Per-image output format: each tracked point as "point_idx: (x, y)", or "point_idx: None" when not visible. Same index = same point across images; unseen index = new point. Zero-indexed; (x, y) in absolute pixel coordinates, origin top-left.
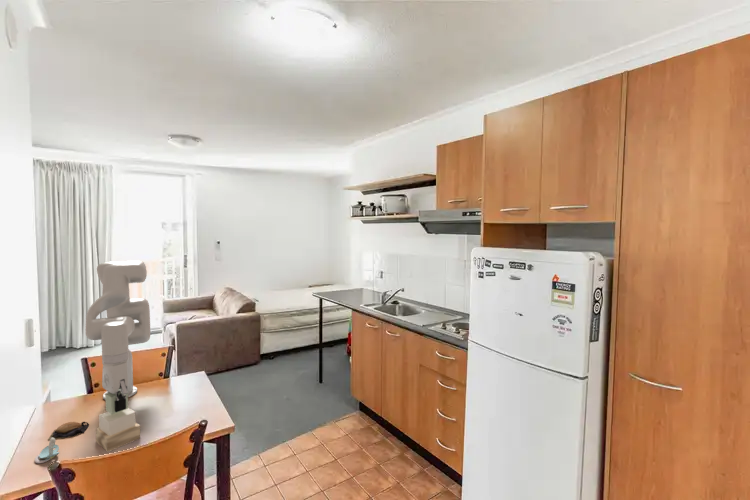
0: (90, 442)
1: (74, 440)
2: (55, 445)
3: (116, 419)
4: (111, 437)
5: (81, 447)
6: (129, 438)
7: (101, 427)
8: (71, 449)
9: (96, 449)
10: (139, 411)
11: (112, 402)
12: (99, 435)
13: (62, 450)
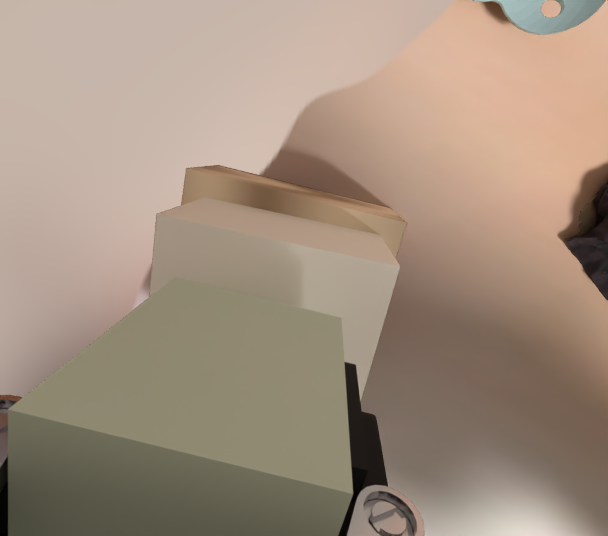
0: (414, 188)
1: (539, 162)
2: (569, 21)
3: (153, 275)
4: (185, 195)
5: (414, 131)
6: None
7: (343, 230)
8: (454, 89)
9: (304, 155)
10: (456, 495)
11: (86, 359)
12: (333, 201)
13: (501, 55)
